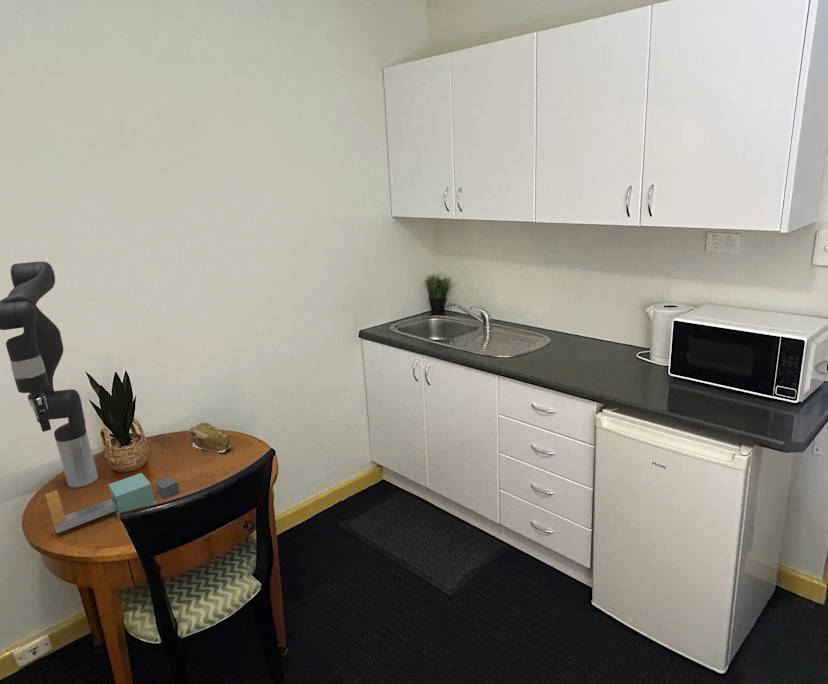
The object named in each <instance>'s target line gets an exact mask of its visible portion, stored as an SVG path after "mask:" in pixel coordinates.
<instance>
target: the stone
mask: <svg viewBox="0 0 828 684" xmlns="http://www.w3.org/2000/svg"><path fill="white" fill-rule="evenodd" d="M188 435H189V437H190V438H191V440H192V447H193V448H194V447H196V448H198V449H199V450H201V449H204V450H210V451H217V453H224V452H226V451H227V450H229V449H231V448H232V445H231V446H229V445H230V443H231V436H230V435H226V434H225V433H224V432H222V431H221V429H219V428H217V427H216V426H213V425H212V424H211V423H209V422H200V423H198V424H197V425H195V426H192V427H191V429H190V430H189V431H188ZM196 448H195V449H196ZM198 449H197V450H198ZM204 450H203V451H204ZM210 451H209V452H210Z"/></svg>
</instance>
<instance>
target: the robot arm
mask: <svg viewBox="0 0 828 684" xmlns="http://www.w3.org/2000/svg"><path fill="white" fill-rule="evenodd" d="M10 267H11V268H10V277H11V282H12V286H13V288H12V289H11V291H10V292H9V293H8V295H7V297H4V298H2V299H1V300H0V331H6V330H8V331H9V330H17V329H23V332H22V333H21V334H19V335H15V336H13V337H10V338H8V339H7V340H6V342H5V346H6V351H7V353H8V358H9V361H10V366H11V367H10V368H11V372H12V375H13V379H14V382H15V386H16V389H17V392H19V393H21V394H27V393H28V395H27V400H28V402H29V404H30V407H31V408H32V410H33V413H34V414H35V417H36V421H37V423H39V425H40V429H41V431H42V432H47V431H50V430H52V426H51V423H50V421H51V420H59V419H61V420H62V419H67V420H68V422H66V423H64V424H63V425H61V426H59V427H58V428H56V429H55V430H54V432H53V436H54V438H55V442H56V447H57V450H58V453H59V457H60V460H61V464H62V468H63V472H64V476H65V478H66V479H65V480H66V482H67V486H68V488H71V489H72V488H75V489H76V488H82V487H87V486H88V485H90V484H93V483H94V482H95V481H97V480H98V478H99V475H98V470H97V466H96V463H95V460H94V459H95V458H94V455H93V452H92V447H91V443H90V440H89V436H88V432H87V429H86V427H87V426H86V419H85V414H84V410H83V409H84V408H83V405H82V404H83V403H82V398H81V396H80V394H79V392H78V391H77V390H76V389H74V388H73V389H72V388H71V389H59V390H54V388H55V387H54V375H55V372H56V369H57V367H58V366H59V363H60V362H61V359H62V357H63V354H64V345H63V340H62V335H61V331H60V329H59V328H58V327H57V325H56V324H55V323H54V322H53V321H52V320H51V319H50V317H48V316H47V315H45V314H44V313H43V311H41V309H39V307H38V306H37V304H38V302H39V301H40V299H41V298H43V297H44V296H45V295H46V294H47V293H49V292H50V291H51V290H52V289H53V288H54V286H55V283H56V277H55V276H56V275H55V271H54V268H53V266H52V265H51V263H49V262H46V261H32V262H30V261H29V262H21V263H13V264H12V265H11V266H10Z"/></svg>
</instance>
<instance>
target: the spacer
mask: <svg viewBox="0 0 828 684" xmlns="http://www.w3.org/2000/svg"><path fill="white" fill-rule="evenodd" d="M154 484H155V487H156V491H157V493H158V494H159V495H160V497H161V498H163V500H165V499H168V498H171V497H172V496H175V495H177V494H180V487H179V484H178V481H177V480H176V479H174V477H172V476H171V475H169V476H167V477H164V478H162V479H160V480H156V481H155V483H154Z"/></svg>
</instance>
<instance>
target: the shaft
mask: <svg viewBox="0 0 828 684" xmlns="http://www.w3.org/2000/svg"><path fill="white" fill-rule="evenodd" d="M44 495H45V497H46V501H47V505H48V508H49V512H50V516H51V519H52V523H53V526H54V529H55V532H56V534H58V533H59V534H60V533H62V532H65V531H67V530H70V529H72V528H74V527H77V526H80V525H82V524H86V523H87V522H91V521H93V520H96V519H98V518H101V517H103V516H107V515H109V514H112V513H114V512H115V511H117V510H118V507H117V503H116V500H115V499H114V498H112V497H111V498H109V499H107V500H104V501H101V502H98V503H94V504H93V505H90V506H87V507H84V508H82V509H79V510H76V511H74V512H71V513H69V514H65V511H64V508H63V504H62V501H61V497H60V494H59V491H58V489H55V490H52V491H50V492H46V493H44Z"/></svg>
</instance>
